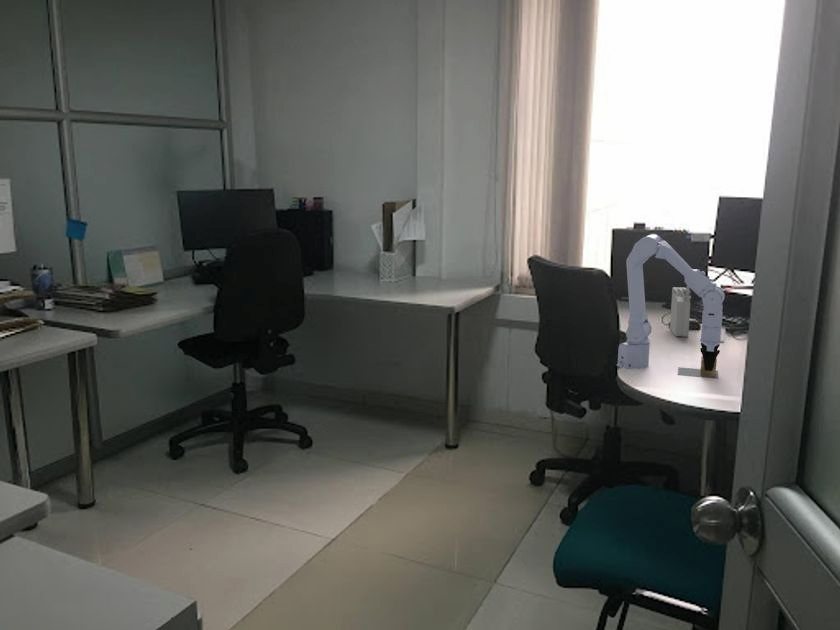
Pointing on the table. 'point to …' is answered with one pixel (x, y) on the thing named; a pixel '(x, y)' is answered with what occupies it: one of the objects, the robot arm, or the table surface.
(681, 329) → the fuel canister
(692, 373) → the pin plate
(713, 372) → the hollow block
